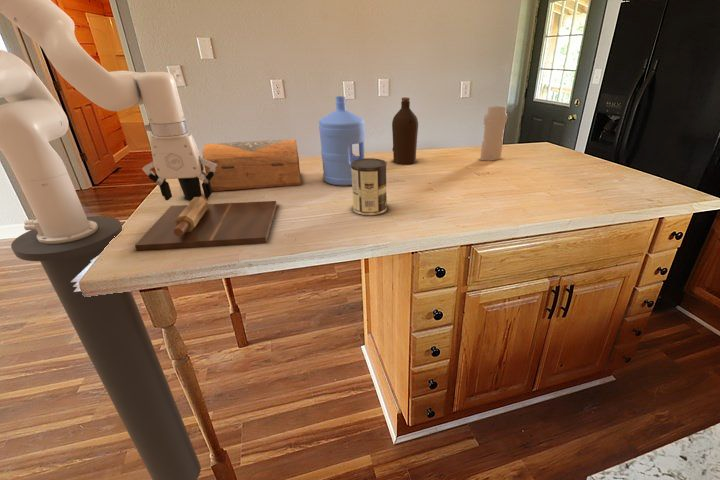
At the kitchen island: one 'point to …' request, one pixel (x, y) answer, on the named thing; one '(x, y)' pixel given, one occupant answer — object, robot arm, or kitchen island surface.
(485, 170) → the kitchen island surface
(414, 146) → the olive oil
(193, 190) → the drinking cup
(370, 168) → the coffee can
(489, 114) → the tall pale column
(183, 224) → the rolling pin
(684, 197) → the kitchen island surface
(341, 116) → the water jug
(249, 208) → the pastry board
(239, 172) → the wooden box
